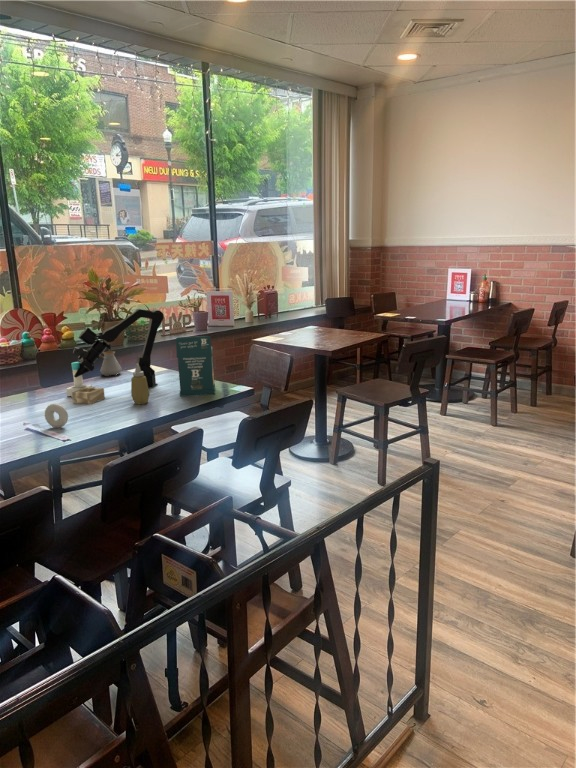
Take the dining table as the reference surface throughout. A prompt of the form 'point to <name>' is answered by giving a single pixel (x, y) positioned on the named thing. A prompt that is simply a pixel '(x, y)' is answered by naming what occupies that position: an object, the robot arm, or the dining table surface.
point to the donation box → (195, 365)
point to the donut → (61, 412)
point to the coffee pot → (110, 364)
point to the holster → (74, 389)
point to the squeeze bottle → (139, 387)
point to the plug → (78, 380)
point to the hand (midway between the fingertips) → (74, 376)
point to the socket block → (88, 395)
